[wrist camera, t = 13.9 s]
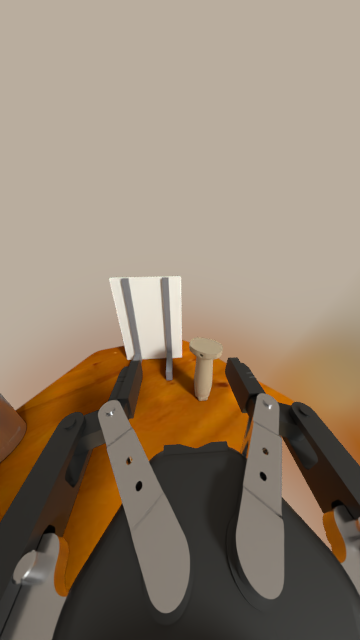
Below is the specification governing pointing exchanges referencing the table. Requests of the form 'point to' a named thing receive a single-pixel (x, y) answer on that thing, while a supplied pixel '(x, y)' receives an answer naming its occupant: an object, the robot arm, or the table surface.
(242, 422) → the table surface
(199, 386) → the handle
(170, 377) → the rack
